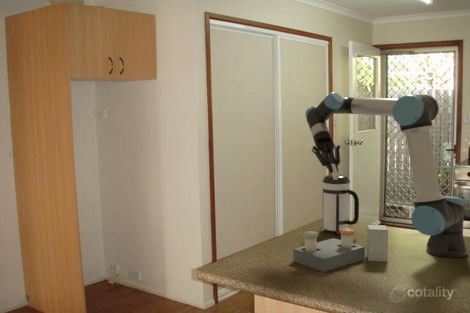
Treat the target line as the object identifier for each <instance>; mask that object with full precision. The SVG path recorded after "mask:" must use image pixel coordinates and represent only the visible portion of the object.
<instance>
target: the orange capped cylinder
mask: <svg viewBox="0 0 470 313" xmlns="http://www.w3.org/2000/svg"><path fill="white" fill-rule="evenodd" d="M350 228H351V227H348V228H342V229H340V231H339V235H340V240H341V247H342V248H345V249H351V248H353V244H354V234H355V229H353V228H351V229H350Z"/></svg>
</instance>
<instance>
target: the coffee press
mask: <svg viewBox="0 0 470 313" xmlns="http://www.w3.org/2000/svg"><path fill="white" fill-rule="evenodd" d="M339 171H340V170H338V174H339V173H340V172H339ZM321 182H322V185H323V186H322V225H321V227H320V228H319V230H320V232H321V233H323V232H324V231H330V232H335V236H340V229H342V228H350V229H352V228H351V227H350V226H352V225H356V224H357V223H358V221H359V216H360V215H359V214H360V212H359V211H360V210H359V209H360V203H359V202H360V201H359V200H360V199H359V197H358V193H357V192H356V191H354V190H352V189H350V183H351V180H350V179H349V177H348V176H347V175H345V174H341V173H340V174H339V177H338V179H337V180H334V179H333V176H332V173H330V174H328V175H325V176H324V177H323V179H322V180H321ZM350 196H352V197H353V200H354V201H353V202H354V203H353V204H354V209H353V210H354V212H353V213H354V214H353V215H354V216H353V219H352V220H350Z"/></svg>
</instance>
